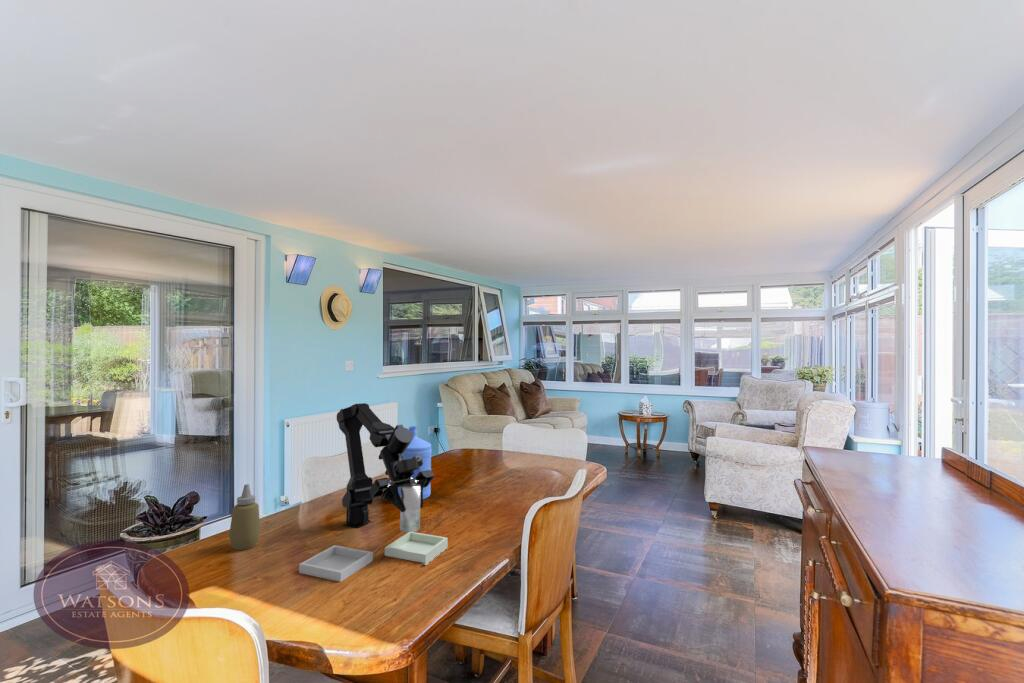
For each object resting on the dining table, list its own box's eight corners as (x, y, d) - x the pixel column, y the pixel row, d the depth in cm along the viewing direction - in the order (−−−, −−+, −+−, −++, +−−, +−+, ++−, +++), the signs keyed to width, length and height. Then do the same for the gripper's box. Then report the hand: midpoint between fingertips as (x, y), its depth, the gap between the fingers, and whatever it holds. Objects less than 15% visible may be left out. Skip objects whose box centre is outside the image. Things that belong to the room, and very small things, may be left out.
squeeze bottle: (266, 543, 140) (268, 482, 141) (242, 554, 133) (245, 489, 133) (245, 539, 143) (248, 480, 144) (221, 549, 135) (224, 486, 136)
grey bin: (298, 575, 120) (299, 563, 121) (334, 555, 133) (334, 545, 133) (340, 584, 116) (340, 572, 116) (372, 563, 128) (373, 552, 128)
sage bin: (384, 558, 132) (384, 547, 132) (409, 541, 144) (409, 531, 144) (425, 565, 127) (425, 554, 127) (447, 547, 140) (447, 537, 140)
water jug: (412, 488, 201) (413, 423, 202) (438, 495, 192) (440, 426, 193) (382, 497, 189) (384, 427, 190) (409, 504, 179) (411, 431, 180)
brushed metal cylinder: (399, 532, 131) (401, 488, 131) (399, 525, 136) (400, 483, 136) (420, 531, 132) (421, 487, 132) (419, 524, 137) (420, 482, 138)
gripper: (375, 450, 131) (393, 500, 123) (431, 443, 144) (452, 487, 136) (361, 473, 137) (378, 522, 128) (417, 464, 149) (436, 508, 141)
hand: (412, 509), depth 133 cm, fingers closed on brushed metal cylinder, 6 cm apart
